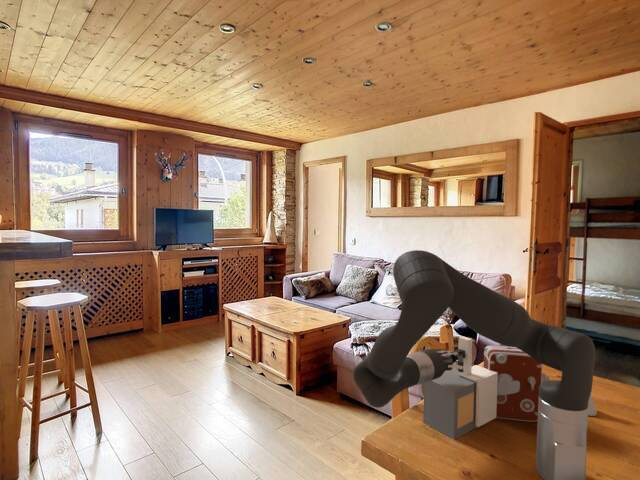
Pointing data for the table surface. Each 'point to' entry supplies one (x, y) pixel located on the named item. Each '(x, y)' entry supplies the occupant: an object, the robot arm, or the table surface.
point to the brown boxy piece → (515, 382)
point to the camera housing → (450, 404)
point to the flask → (591, 407)
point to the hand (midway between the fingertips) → (462, 353)
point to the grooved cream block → (480, 384)
